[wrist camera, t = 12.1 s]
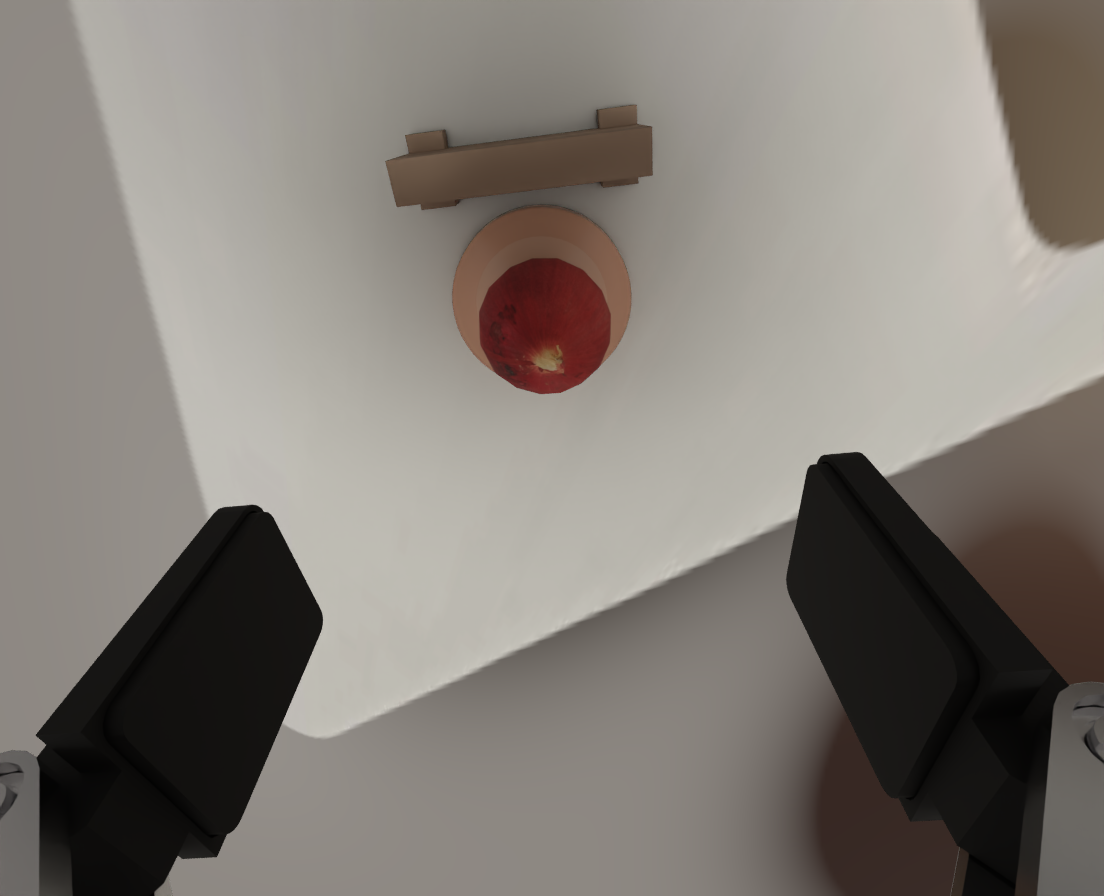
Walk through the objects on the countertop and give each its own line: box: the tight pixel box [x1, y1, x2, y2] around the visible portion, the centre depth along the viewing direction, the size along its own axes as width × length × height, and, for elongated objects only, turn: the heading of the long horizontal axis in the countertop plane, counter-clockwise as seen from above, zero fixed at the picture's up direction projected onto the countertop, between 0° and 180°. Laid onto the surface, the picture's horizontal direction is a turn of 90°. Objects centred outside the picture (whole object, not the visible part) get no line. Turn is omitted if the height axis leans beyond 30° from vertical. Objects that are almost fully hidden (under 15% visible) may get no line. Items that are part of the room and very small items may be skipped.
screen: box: [385, 105, 653, 210], centre depth 22 cm, size 3×10×5 cm, turn 96°
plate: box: [452, 205, 631, 372], centre depth 27 cm, size 9×9×1 cm
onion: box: [479, 258, 611, 394], centre depth 23 cm, size 6×6×8 cm
